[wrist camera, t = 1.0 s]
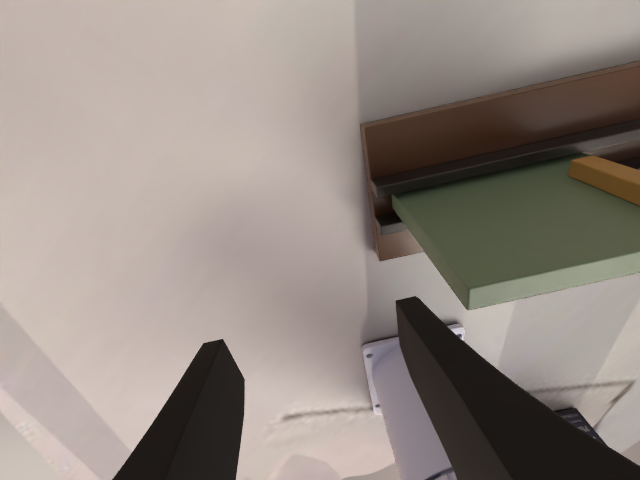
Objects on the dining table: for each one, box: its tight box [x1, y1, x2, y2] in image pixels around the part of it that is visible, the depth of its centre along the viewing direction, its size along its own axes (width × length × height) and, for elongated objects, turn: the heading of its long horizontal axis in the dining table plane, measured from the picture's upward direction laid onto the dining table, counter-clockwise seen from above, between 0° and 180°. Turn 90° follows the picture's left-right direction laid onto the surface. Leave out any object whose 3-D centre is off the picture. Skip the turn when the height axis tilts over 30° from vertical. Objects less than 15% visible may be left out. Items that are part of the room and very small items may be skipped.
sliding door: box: [392, 152, 640, 310], centre depth 13 cm, size 2×10×8 cm, turn 101°
